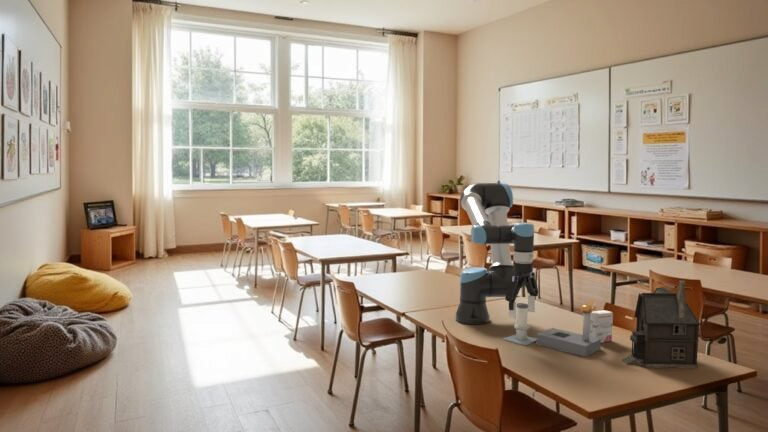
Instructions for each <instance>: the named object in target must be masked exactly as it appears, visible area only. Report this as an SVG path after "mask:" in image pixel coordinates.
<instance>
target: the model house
mask: <svg viewBox="0 0 768 432" xmlns="http://www.w3.org/2000/svg"><path fill="white" fill-rule="evenodd" d="M685 283H686V281H685V280H678V289H677V292H675V291H672V290H671V289H668V288H667V287H663V286H661V287H656V288H655V290H654V291H653V292H641V293H639V292H638V296H637V301H636V306H635V311H634V316H633V317H634V318H636V321H635V322H636V328H635V331H631V333H632V334H631V335H630V336H629V340H630V341H631V354H629V356H628V355H627V356H626V357H624V358H622V359H621V360H622V361H623V363H624V364H626V365H634V366H643V367H644V368H673V369H675V368H683V369H685V368H687V369H689V368H690V369H691V368H692V369H698V366H699V365H698V353H699V352H698V350H699V349H698V348H699V342H700V340H699V333H700V331H699V330H700V325H701V324H702V323H700V322H699V320H698V319H697V317H696V315H695V314H694V312H693V311H692V309H691V307H690V306H689V305H688V303H687V296H686V295H687V294H686V291H685Z"/></svg>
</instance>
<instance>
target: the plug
mask: <svg viewBox="0 0 768 432" xmlns="http://www.w3.org/2000/svg"><path fill="white" fill-rule="evenodd" d="M528 312H529V311H528V303H526V302H525V303H523V302H519V303H516V318H515V321H516V323H514V324H513V329H515V334H516V339H517V340H521V341H524V340H527V336H528V331H529V330H530V325H529V324H528Z"/></svg>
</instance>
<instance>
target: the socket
mask: <svg viewBox="0 0 768 432" xmlns="http://www.w3.org/2000/svg"><path fill="white" fill-rule="evenodd" d="M582 316H583V317H582V320H583V321H582V334H580V333H576V332H573V331H568V330H562V329H559V328H556V327H555V328H554V327H552V328H549V329H546V330H544V331H541V332H538V333H537V334H536V338H537V341H536V345H540V346H544V347H546V346H547V348H550V347H551V349H553V350H557V351H558V350H559V351H562V352H566V353H569V354H574V355H578V356H581V357H584V358H585V357H588V356H590V355H592V354H595V353H596V352H598V351H600V350H601V347H602V346H601V345H602V344H601V339H598V338H594V337H590V336H589V334H590V313H583V312H582Z"/></svg>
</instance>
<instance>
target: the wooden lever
mask: <svg viewBox="0 0 768 432" xmlns="http://www.w3.org/2000/svg"><path fill="white" fill-rule="evenodd" d="M597 300H598V299H596V298H591V299H590V300H589V301H588V302H587V303H586V304H581V312H582V314H583V313H592V312H593V311H597Z"/></svg>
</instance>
